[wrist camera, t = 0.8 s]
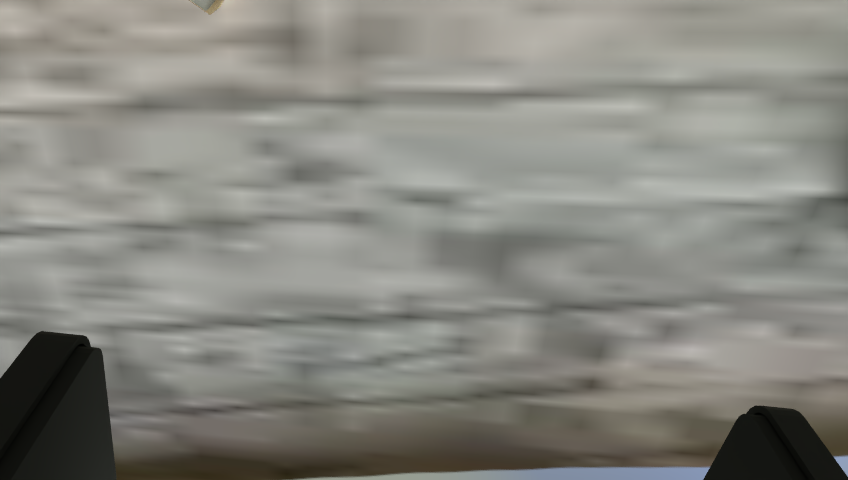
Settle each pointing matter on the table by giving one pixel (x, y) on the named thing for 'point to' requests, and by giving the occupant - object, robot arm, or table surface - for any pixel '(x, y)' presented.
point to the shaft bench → (214, 6)
